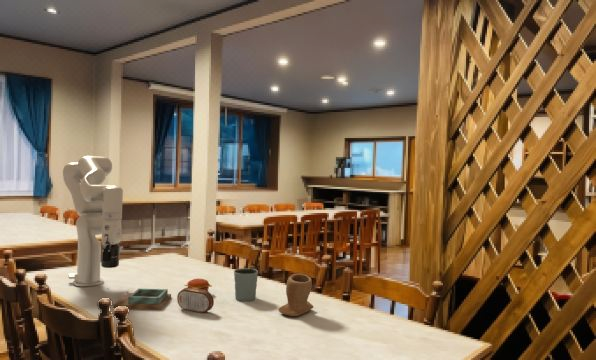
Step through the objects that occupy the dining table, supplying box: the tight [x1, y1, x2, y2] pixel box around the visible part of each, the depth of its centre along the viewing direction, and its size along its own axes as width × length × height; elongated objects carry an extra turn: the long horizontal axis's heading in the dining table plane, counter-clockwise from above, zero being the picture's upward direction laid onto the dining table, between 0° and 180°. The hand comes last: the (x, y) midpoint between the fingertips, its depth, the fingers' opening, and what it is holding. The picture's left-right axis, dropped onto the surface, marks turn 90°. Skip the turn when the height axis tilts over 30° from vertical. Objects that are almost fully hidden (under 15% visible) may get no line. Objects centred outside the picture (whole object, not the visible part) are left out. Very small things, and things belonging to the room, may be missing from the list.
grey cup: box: [233, 267, 259, 303], centre depth 183 cm, size 10×10×12 cm
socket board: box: [112, 288, 172, 311], centre depth 173 cm, size 18×16×4 cm
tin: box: [176, 286, 215, 314], centre depth 166 cm, size 15×3×8 cm, turn 71°
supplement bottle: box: [100, 243, 121, 269], centre depth 179 cm, size 7×7×12 cm
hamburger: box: [183, 278, 213, 292], centre depth 188 cm, size 9×10×7 cm
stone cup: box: [277, 273, 314, 317], centre depth 168 cm, size 15×12×15 cm
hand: (110, 258), depth 179 cm, fingers closed on supplement bottle, 6 cm apart
